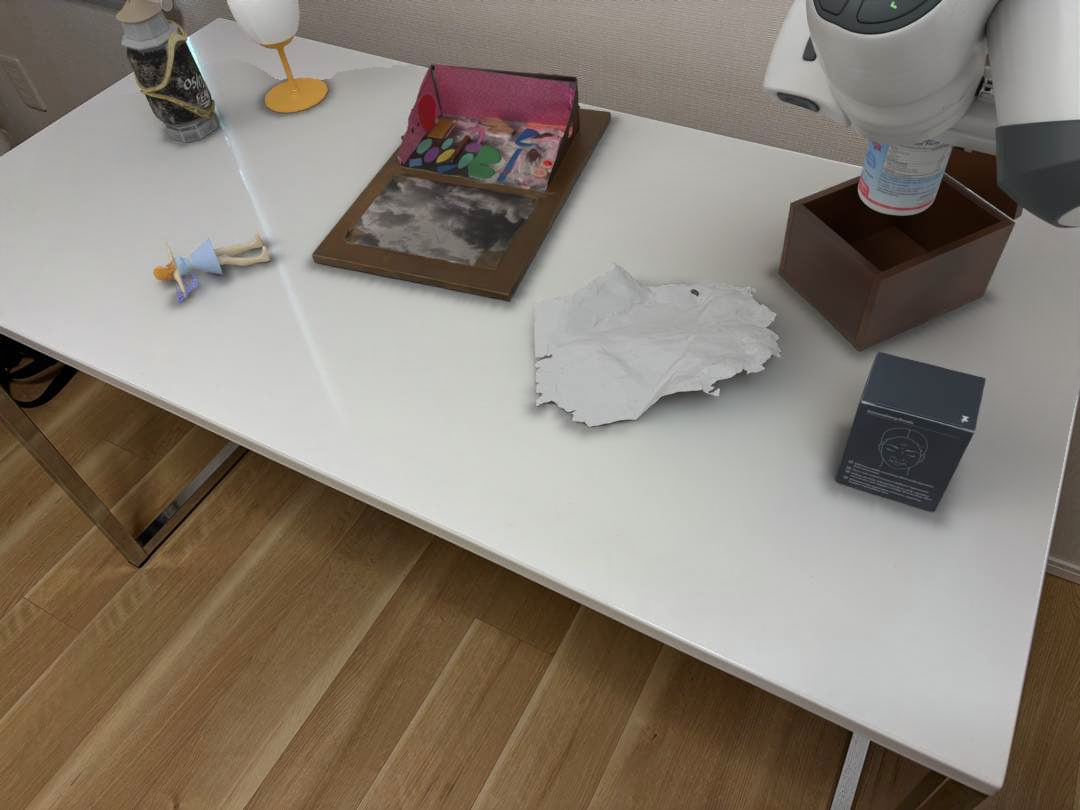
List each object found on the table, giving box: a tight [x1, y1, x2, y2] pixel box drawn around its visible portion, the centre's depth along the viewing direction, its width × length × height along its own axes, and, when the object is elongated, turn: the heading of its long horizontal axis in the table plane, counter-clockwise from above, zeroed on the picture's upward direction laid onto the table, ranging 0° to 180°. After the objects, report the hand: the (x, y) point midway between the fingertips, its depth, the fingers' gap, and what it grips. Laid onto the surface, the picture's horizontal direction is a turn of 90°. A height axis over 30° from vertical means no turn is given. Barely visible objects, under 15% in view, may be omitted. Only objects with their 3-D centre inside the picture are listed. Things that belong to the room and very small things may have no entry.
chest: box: [777, 172, 1016, 352], centre depth 77 cm, size 15×13×9 cm
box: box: [835, 351, 987, 513], centre depth 63 cm, size 8×6×11 cm
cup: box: [226, 0, 329, 114], centre depth 109 cm, size 9×9×16 cm
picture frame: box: [311, 63, 612, 301], centre depth 94 cm, size 24×35×8 cm
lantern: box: [115, 0, 219, 143], centre depth 103 cm, size 9×8×25 cm
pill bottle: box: [858, 140, 952, 216], centre depth 63 cm, size 6×6×11 cm
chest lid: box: [944, 54, 1024, 221], centre depth 69 cm, size 16×13×5 cm
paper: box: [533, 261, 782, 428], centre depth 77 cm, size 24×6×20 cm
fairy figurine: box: [152, 230, 271, 304], centre depth 90 cm, size 12×5×12 cm
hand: (915, 128), depth 63 cm, fingers closed on pill bottle, 6 cm apart
